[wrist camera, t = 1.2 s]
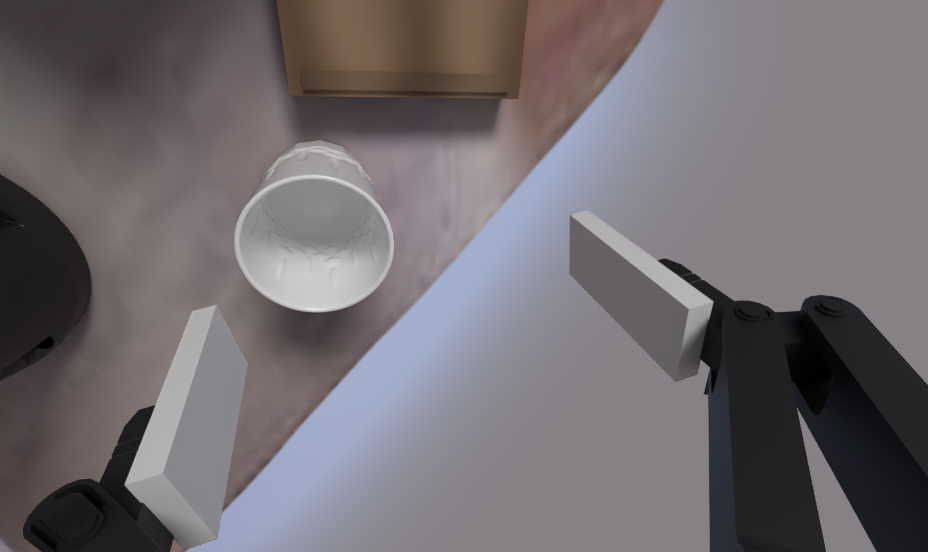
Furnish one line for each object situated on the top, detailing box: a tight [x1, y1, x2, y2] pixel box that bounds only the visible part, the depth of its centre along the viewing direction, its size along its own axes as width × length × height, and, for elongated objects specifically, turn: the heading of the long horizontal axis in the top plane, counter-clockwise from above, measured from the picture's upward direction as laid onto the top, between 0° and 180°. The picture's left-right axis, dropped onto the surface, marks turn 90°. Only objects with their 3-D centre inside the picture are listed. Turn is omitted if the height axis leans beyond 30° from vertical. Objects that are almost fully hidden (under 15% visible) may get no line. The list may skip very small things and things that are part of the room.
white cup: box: [234, 140, 394, 312], centre depth 27 cm, size 8×8×10 cm
